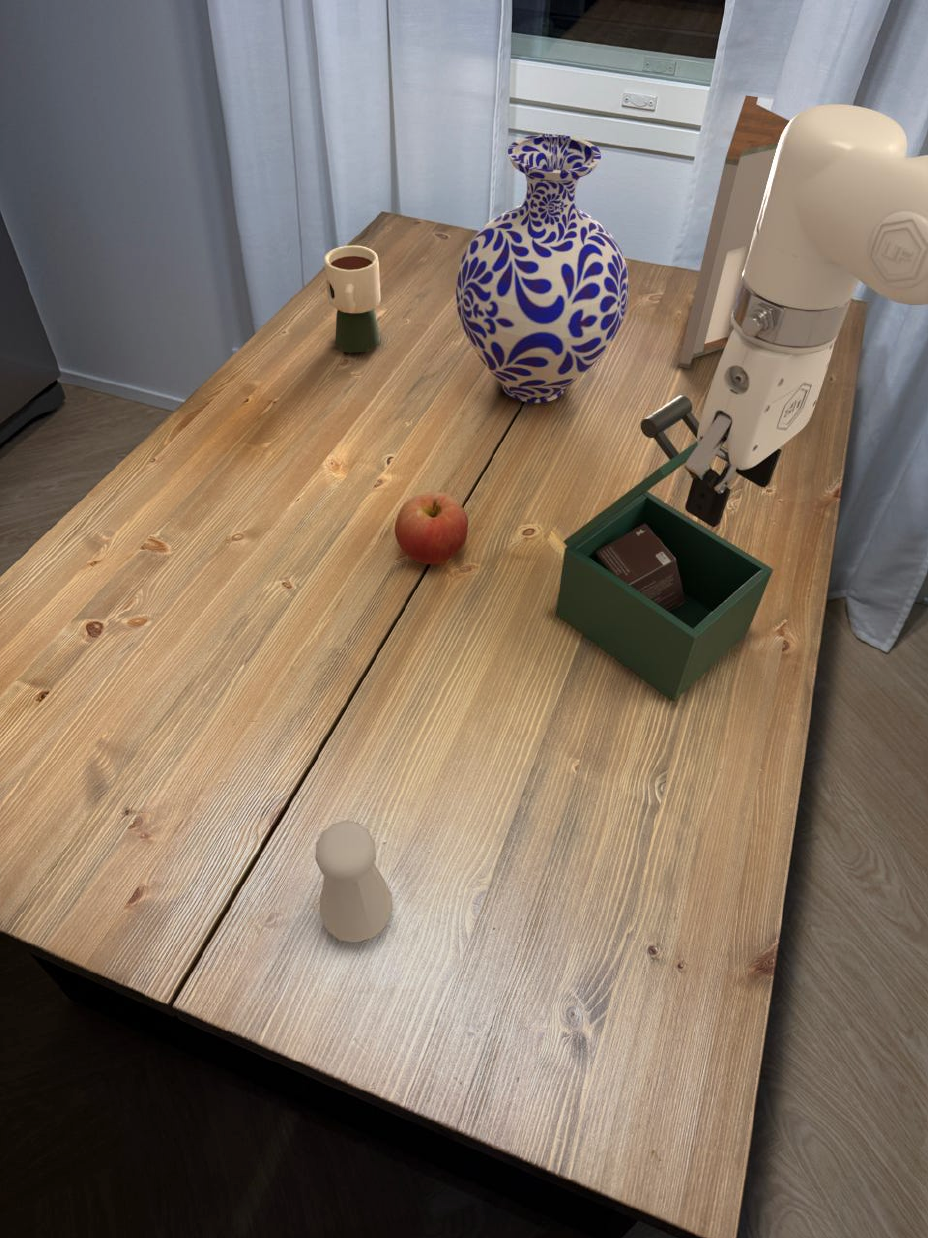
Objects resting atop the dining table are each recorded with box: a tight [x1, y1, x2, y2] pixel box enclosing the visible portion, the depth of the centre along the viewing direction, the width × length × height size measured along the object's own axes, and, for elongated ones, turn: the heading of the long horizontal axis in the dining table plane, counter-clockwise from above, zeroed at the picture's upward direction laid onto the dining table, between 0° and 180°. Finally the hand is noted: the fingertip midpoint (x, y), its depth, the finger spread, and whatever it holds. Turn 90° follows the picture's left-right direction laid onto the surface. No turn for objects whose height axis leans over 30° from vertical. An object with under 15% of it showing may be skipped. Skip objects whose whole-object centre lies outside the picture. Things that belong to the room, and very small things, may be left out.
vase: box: [455, 133, 629, 404], centre depth 110 cm, size 22×22×30 cm
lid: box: [562, 395, 700, 548], centre depth 82 cm, size 17×13×5 cm
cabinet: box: [677, 95, 791, 369], centre depth 120 cm, size 21×10×28 cm, turn 162°
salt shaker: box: [315, 820, 393, 944], centre depth 67 cm, size 6×6×13 cm
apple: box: [394, 491, 469, 565], centre depth 97 cm, size 8×8×8 cm
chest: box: [555, 491, 774, 702], centre depth 90 cm, size 16×13×10 cm
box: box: [595, 524, 685, 611], centre depth 90 cm, size 6×6×7 cm
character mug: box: [323, 245, 381, 353], centre depth 122 cm, size 11×7×13 cm, turn 179°
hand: (727, 496), depth 76 cm, fingers open, 6 cm apart
